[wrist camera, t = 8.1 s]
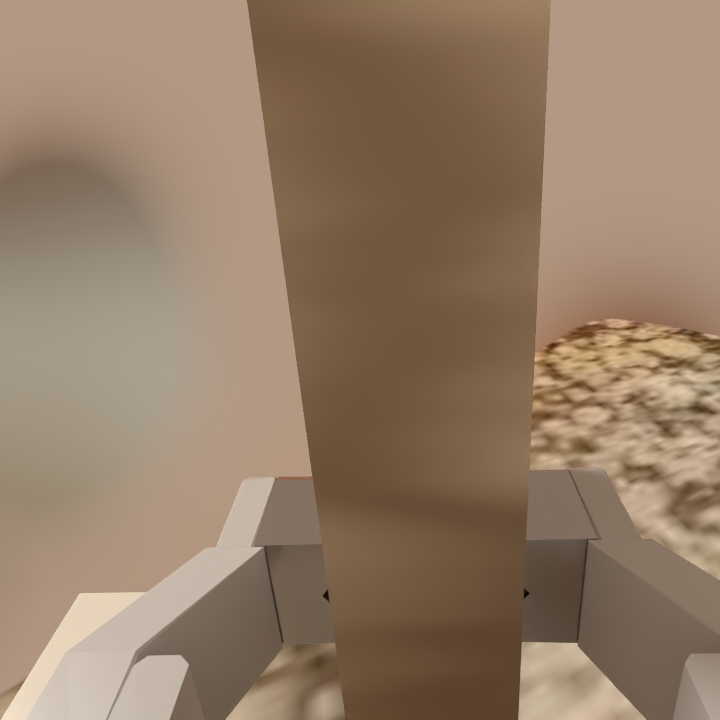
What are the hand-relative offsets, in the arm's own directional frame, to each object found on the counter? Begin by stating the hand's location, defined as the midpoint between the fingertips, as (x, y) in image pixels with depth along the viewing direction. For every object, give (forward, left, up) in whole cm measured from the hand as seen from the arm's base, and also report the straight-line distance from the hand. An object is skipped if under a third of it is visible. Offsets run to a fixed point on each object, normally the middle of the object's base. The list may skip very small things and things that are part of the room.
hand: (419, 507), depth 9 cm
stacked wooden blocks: (0, +1, -10) cm, 10 cm away
